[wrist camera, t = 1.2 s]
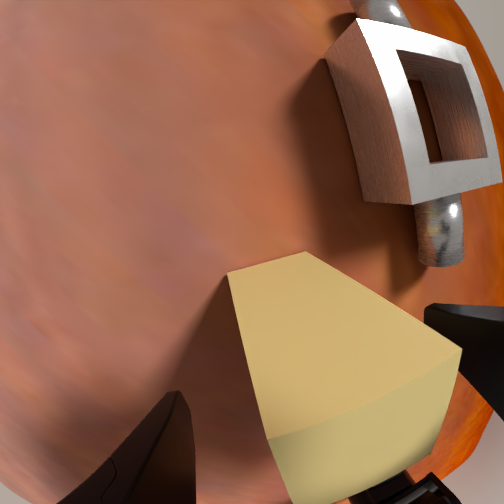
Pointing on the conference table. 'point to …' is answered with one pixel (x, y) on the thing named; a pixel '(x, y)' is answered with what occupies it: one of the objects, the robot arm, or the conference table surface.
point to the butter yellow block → (339, 377)
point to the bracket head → (414, 122)
